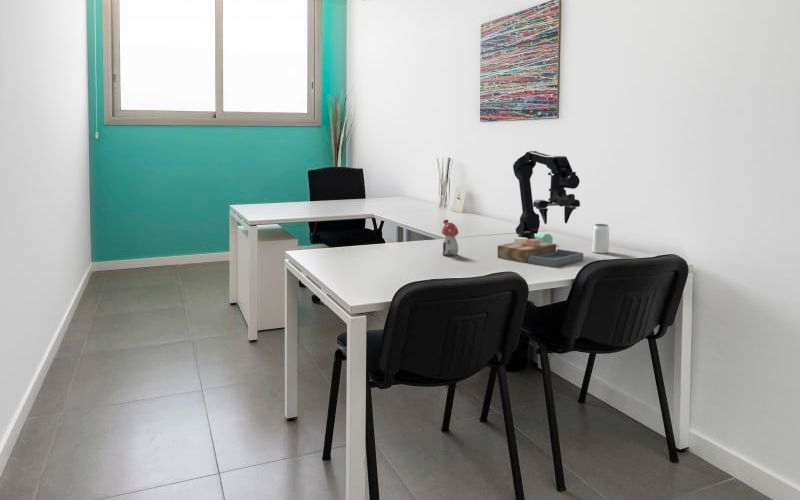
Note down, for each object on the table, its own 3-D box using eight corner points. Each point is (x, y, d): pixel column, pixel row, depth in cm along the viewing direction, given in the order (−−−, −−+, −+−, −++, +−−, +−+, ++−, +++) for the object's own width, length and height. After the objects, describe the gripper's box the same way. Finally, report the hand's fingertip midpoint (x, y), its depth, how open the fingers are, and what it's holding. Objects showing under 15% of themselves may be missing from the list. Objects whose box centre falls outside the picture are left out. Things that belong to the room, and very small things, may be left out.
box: (527, 262, 244) (527, 255, 243) (556, 255, 257) (556, 248, 256) (554, 267, 234) (554, 259, 234) (582, 260, 247) (583, 252, 247)
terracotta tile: (526, 245, 253) (526, 239, 252) (531, 244, 256) (532, 238, 255) (534, 246, 250) (534, 240, 250) (539, 245, 253) (540, 239, 252)
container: (516, 225, 304) (544, 231, 281) (526, 229, 306) (554, 235, 283) (512, 236, 304) (540, 243, 281) (522, 240, 306) (550, 247, 283)
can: (609, 253, 260) (610, 226, 257) (593, 253, 261) (594, 225, 259) (607, 251, 266) (608, 223, 264) (591, 250, 267) (592, 223, 265)
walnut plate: (497, 257, 255) (497, 245, 254) (526, 251, 268) (526, 239, 267) (526, 262, 244) (527, 250, 243) (555, 255, 257) (556, 244, 256)
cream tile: (514, 244, 257) (514, 238, 257) (520, 242, 260) (520, 237, 260) (522, 245, 254) (522, 239, 254) (528, 244, 257) (528, 238, 257)
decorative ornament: (440, 253, 266) (440, 219, 263) (454, 252, 267) (454, 218, 264) (445, 257, 257) (445, 222, 254) (460, 256, 258) (460, 221, 255)
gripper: (545, 189, 244) (543, 227, 247) (587, 188, 248) (585, 225, 251) (533, 186, 255) (531, 223, 258) (574, 185, 259) (572, 221, 262)
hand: (555, 223), depth 257 cm, fingers open, 9 cm apart
